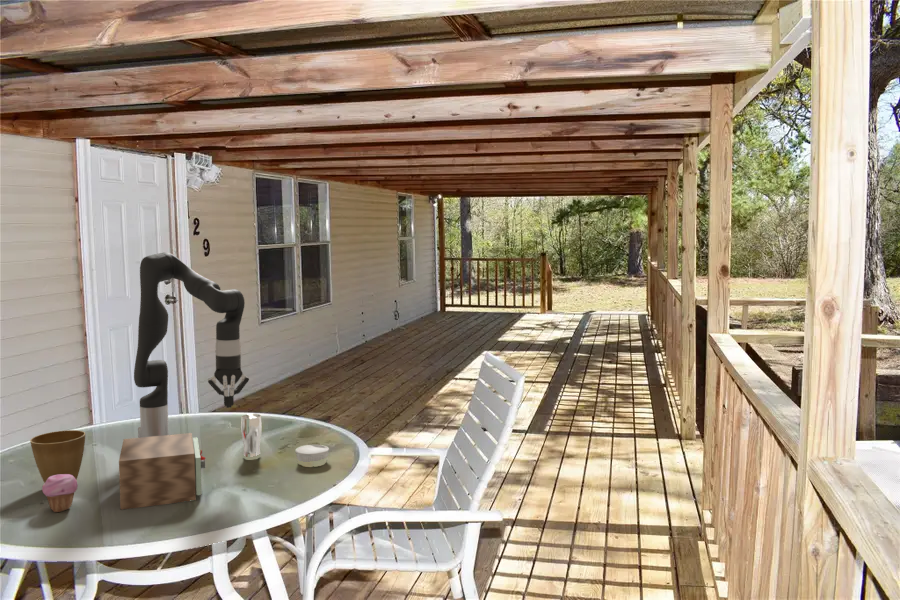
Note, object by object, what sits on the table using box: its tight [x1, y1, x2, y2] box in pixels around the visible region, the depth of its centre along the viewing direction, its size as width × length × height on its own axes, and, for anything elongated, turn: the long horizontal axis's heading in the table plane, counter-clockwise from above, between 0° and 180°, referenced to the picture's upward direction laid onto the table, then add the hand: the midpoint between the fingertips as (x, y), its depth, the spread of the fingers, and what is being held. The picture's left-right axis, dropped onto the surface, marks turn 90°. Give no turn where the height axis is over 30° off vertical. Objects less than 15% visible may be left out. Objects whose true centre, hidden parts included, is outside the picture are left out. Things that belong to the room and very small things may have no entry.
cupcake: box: [41, 474, 79, 513], centre depth 200 cm, size 9×9×10 cm
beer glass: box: [240, 413, 263, 457], centre depth 248 cm, size 7×7×15 cm
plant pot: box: [29, 429, 86, 484], centre depth 218 cm, size 15×15×16 cm
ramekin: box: [294, 444, 330, 462], centre depth 242 cm, size 11×11×5 cm
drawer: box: [192, 437, 206, 496], centre depth 216 cm, size 21×23×11 cm
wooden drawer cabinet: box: [118, 432, 197, 511], centre depth 215 cm, size 20×24×14 cm
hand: (228, 407), depth 225 cm, fingers closed
